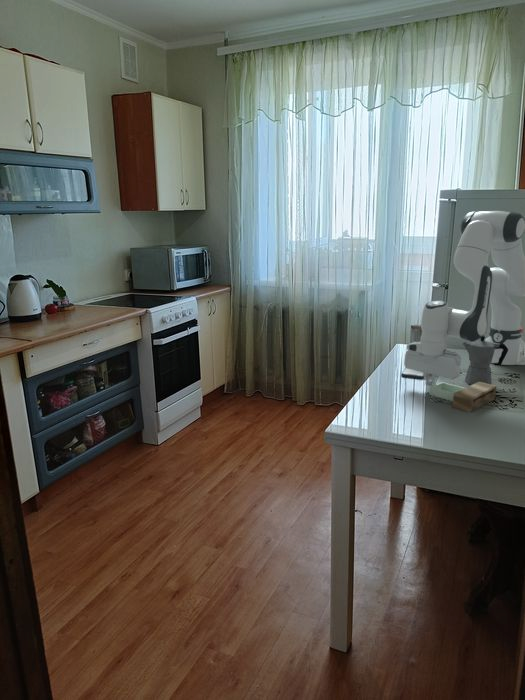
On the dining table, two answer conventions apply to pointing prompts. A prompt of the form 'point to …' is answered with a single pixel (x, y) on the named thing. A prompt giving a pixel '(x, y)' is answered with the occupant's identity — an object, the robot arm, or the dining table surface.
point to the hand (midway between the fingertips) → (430, 385)
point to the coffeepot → (482, 360)
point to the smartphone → (412, 374)
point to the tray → (444, 390)
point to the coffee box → (415, 333)
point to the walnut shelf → (474, 396)
